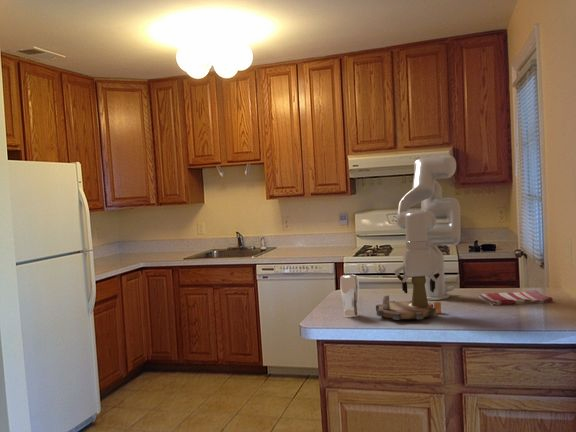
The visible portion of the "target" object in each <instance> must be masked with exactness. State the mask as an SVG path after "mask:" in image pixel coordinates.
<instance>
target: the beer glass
mask: <svg viewBox="0 0 576 432" xmlns="http://www.w3.org/2000/svg"><path fill="white" fill-rule="evenodd" d="M339 281H340V285H339V286H340V295H341V300H342V305H343V311H342V316H343V317H345V318H357V317H359V316H360V311H359V307H358V303H359V296H360V295H359V294H360V285H359V284H360V283H359V276H358V275H356V274H343V275H341V276H340V280H339Z"/></svg>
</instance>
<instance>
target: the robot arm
mask: <svg viewBox="0 0 576 432" xmlns="http://www.w3.org/2000/svg"><path fill="white" fill-rule="evenodd" d="M413 169H414V170H413V171H414V172H413V173H414V174H413V180H412V188H411V189H410V190H409V191H408V192H406V193H405V194H404V196H403V197H402V198H401V199H400V201H399V203H398V206H397V213H396V225H397V228H398V229H399V230H401V231H405V246H406V249H403V256H402V259H403V260H402V266H400V267H398V268H396V269H394V270H393V272H394V274H395V276H396V278H397V279H398V280H399V281H400V282H401V289H402V291H403V292H404V293H405V294H408V282H407V281H408V279H409V278H412V277H425V278H426V283H425V289H426V295H427V300H428V301H440V300H446V299H448V298H449V297H450V295H449V293H448V292H451V291H454V290H455V286H453V285H450V286H447V285H445V284H446V283H445V263H444V258H445V257H444V254H443V252H442V251H441V250H440V249H439V247H438V246H455V245H459V243H460V241H461V229H462V228H461V204H460V202H459V200H458V199H457V198H455V197H443V189H442V186H441V184H440V183H439V182H438V181H437V179H449V178H452V176H453V175H455V173H456V170H457V161H456V159H455V157H454V156H453V155H439V156H425V157H419V158H417V159H416V160H415V161H414V162H413ZM418 203H421V205H420V210H409V209H410V208H411V207H413V206H415V205H416V204H418ZM437 221H448V222H437ZM400 272H402V273H403V276H401V274H400Z"/></svg>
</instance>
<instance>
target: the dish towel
mask: <svg viewBox="0 0 576 432" xmlns="http://www.w3.org/2000/svg"><path fill="white" fill-rule="evenodd" d="M477 297H478V298H479V299H481V300H482V301H484V302H486V303H487V304H489V305H491V306H513V305H529V304H531V305H533V304H545V303H544V302H553V303H554V299H553V297H551V296H547V295H544V294H542V293H541V292H539V291H538V290H527V291H518V292H491V293H490V292H488V293H479V294H477ZM532 303H533V304H532Z"/></svg>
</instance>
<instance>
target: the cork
mask: <svg viewBox="0 0 576 432" xmlns="http://www.w3.org/2000/svg"><path fill="white" fill-rule="evenodd" d="M425 283H426V278H425V277H411V284H412V293H411V294H412V296H411V297H412V298H411V301H412V306H414V307H426V306H428V303H429V300H427V295H426V289H425Z"/></svg>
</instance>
